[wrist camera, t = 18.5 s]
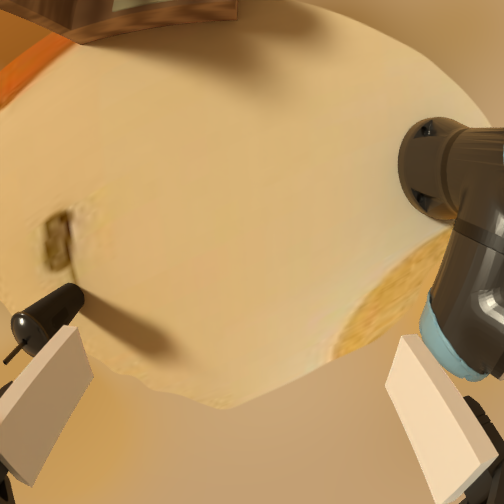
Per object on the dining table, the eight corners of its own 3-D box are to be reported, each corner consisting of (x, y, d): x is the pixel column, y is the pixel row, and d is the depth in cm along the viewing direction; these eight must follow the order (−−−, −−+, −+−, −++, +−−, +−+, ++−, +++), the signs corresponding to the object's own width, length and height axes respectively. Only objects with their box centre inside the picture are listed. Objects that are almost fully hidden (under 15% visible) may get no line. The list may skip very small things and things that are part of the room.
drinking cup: (61, 266, 43) (-16, 325, 24) (96, 291, 44) (28, 364, 25) (52, 299, 45) (-15, 361, 26) (84, 322, 46) (25, 395, 27)
